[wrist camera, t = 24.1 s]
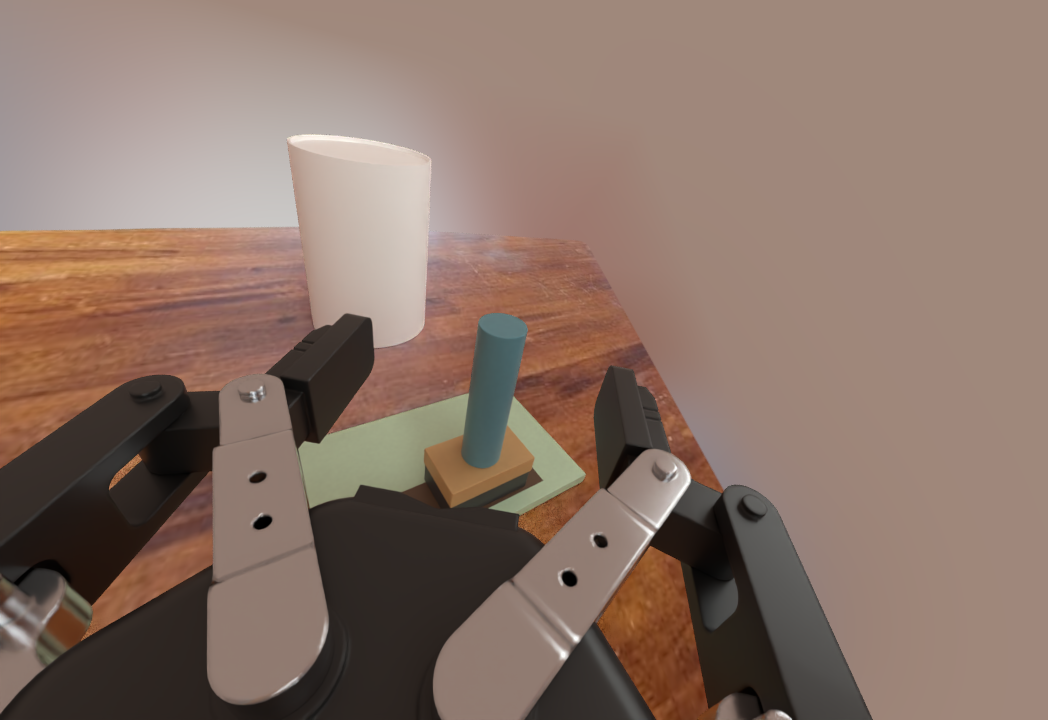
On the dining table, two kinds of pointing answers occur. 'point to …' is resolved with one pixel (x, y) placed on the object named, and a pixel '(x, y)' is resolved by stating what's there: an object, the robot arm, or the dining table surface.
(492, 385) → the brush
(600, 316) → the dining table surface
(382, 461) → the board
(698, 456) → the dining table surface
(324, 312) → the canister
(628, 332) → the dining table surface
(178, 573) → the dining table surface
